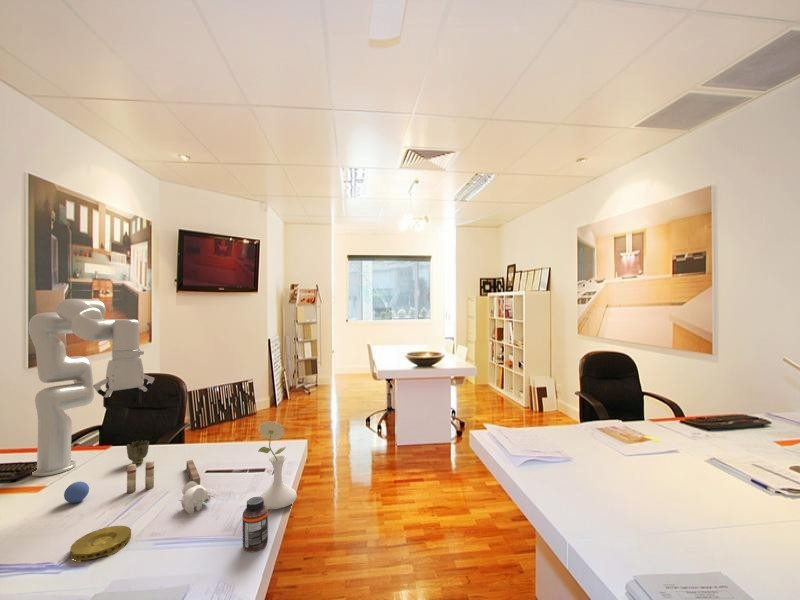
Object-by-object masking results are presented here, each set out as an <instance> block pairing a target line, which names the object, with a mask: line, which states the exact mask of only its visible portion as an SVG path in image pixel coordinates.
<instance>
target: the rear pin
mask: <svg viewBox="0 0 800 600" xmlns="http://www.w3.org/2000/svg"><path fill="white" fill-rule="evenodd" d="M144 470H145V471H144V473H145V476H144V479H145V481H144V485H145V487H144V489H145V490H146V491H147V490H152V489H154V486H155V461H154V460H149V461H147V462H145V469H144Z"/></svg>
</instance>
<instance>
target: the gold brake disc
mask: <svg viewBox="0 0 800 600" xmlns="http://www.w3.org/2000/svg"><path fill="white" fill-rule="evenodd" d="M131 538H132V529H131V527H129V526H127V525H111V526H107V527H103V528H100V529H96V530H93V531H91V532H89V533H86V534H85V535H83V536H81V537H79V538H78V539H77V540H76V541H74V542H73V543H72V544H71V546H70V552H69V553H70V554H69V555H71V556H70V559H71V558H72V559H74V560H76V561H75V562H77V561H82V560H83V561H87V560H89V561H90V560H93V559H97V558H98V559H99V558H102V557H104V556H106V557H108V556H111V555H113V554H115V553H117V552H119V551H121V550H122V549H123V548H125V545H126V544H128V543H129V542H130V540H131ZM72 559H71V560H72ZM83 561H82V562H83Z"/></svg>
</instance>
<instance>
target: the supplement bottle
mask: <svg viewBox="0 0 800 600" xmlns="http://www.w3.org/2000/svg"><path fill="white" fill-rule="evenodd" d="M268 512H269V509H267V507H266V506H265V505H264V499H263V498H262V497H260V496H254V497H250V498H249V499H247V500H246V508H245V509H243V512H242V548H243V551H246V552H248V553H255V552H258V551H260V550H262V549H264V548H265V547H266V546H267V545H268V542H269V537H268V536H269V525H268V524H269V517H268V515H269V513H268Z"/></svg>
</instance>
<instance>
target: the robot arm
mask: <svg viewBox="0 0 800 600" xmlns="http://www.w3.org/2000/svg"><path fill="white" fill-rule="evenodd" d="M106 312H107V311H106V306H105V304H104V303H103V301H101V300H99V299H95V298H67V299H66V298H65V299H63V300H61V301H60V302H58V303H57V305H56V306H55V311H54V312H53V311H49V312H42V313H41V312H40V313H37V314H34V315H33V316H32V317H31V318H30V319H29V323H28V334H29V337H30V339H31V341H32V344H33V346H34V349H35V356H36V357H35V358H36V366H37V375H38V379H39V381H40V382H41V383H44V384H53V383H60V382H69V381H73V383H67V384H60V385H54V386H48V387H45V388H42V389H40V390H39V391H38V392H37V393H36V394H35V397H34V402H35V403H34V405H35V409H36V415H37V446H36V447H37V448H36V449H37V452H36V453H37V456H36V457H37V459H36V468H37V470H36V471H34V472H32V475H31V476H32V477H47V476H53V475H57V474H61V473H65V472H67V471H70V470H72V469H73V468H75V467H76V466H77V462H76V461H75V460H72V459H71V458H72V457H71V456H72V424H73V423H72V419H71V417H70V416H69V414H67V413H66V412H65V411H66V410H70V409H75V408H79V407H84V406H87V405H89V404H91V403H92V402H93V400H94V397H95V391H96V393H97V394H99V395H100V396H102V397H103V398H102V399H103V400H102V402H103V405H102V406H103V407H102V408H104V409H105V410H111V407H112V398H111V395H112V393H113V392H115V391H121V390H122V391H123V390H130V389H134V388H138V389H139V391H138V403H140V404H145V401H146V399H147V391H148V390H149V388H151V386H152V385H153V383H154V381H155V377H153V376H150V375H148V374H145V373H144V367H143V360H142V358H140V357H141V356H142V355H144V354H145V351H144V350H141V349H140V321H139V320H137V319H134V318H133V319H123V318H113V319H112V318H104V317H105V315H106ZM62 334H63V335H66V334H67V335H68V334H74V335H75V336H76V337H77V338H79V339H81V340H84V341H86V342H105V341H112V342H111V343H112V344H111V359H110V360H108V363H107V368H106V374H105V378H103V379H102V380H100V381H98V382H96V383H95V384H94V378H93V377H94V376H93V368H92V363H91V361H90V360H89V358H87V357H86V356H82V355H75V356H73V355H72V356H68V355H67V352H66V351H67V350H66V349H67V348H66V345H65V343H64V342H63V340H61V339H60V338H59V337H57V336H56V335H62ZM145 380H147V382H146V383H145ZM144 383H145V384H144ZM104 385H105V390H103V389H102V388H101V386H104Z"/></svg>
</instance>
